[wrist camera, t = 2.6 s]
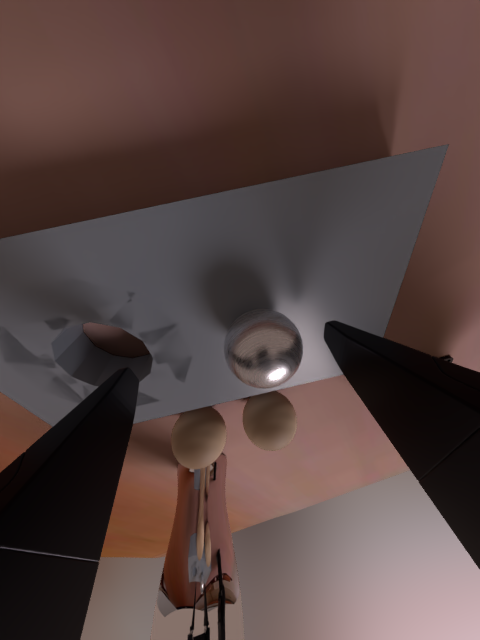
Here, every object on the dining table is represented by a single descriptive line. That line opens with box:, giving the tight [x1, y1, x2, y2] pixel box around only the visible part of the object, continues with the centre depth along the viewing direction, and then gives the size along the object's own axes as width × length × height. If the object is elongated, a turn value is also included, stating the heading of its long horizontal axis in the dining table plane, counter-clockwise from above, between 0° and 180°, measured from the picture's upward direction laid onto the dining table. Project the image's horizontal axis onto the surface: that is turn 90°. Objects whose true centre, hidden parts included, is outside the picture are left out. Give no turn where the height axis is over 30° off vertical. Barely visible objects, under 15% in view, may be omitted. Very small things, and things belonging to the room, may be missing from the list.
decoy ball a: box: [243, 391, 297, 451], centre depth 16 cm, size 4×4×4 cm
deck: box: [0, 144, 449, 427], centre depth 11 cm, size 22×12×2 cm, turn 100°
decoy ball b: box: [171, 406, 226, 469], centre depth 15 cm, size 4×4×4 cm
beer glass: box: [150, 454, 244, 640], centre depth 17 cm, size 7×7×15 cm
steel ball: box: [224, 309, 303, 389], centre depth 8 cm, size 4×4×4 cm
